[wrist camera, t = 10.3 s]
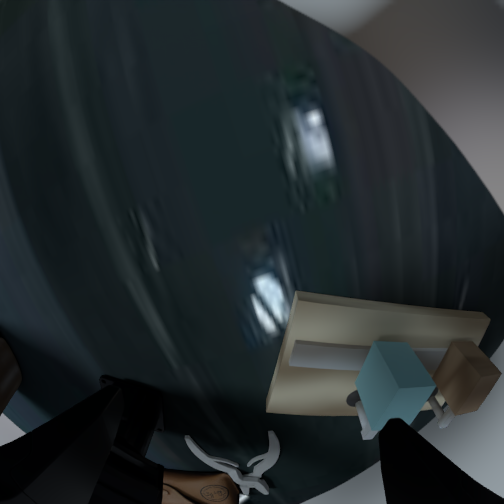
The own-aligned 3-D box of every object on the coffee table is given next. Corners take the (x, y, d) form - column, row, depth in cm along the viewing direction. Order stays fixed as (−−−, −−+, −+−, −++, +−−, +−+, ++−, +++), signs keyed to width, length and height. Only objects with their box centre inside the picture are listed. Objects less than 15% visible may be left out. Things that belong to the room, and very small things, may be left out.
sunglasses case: (227, 472, 26) (229, 517, 22) (238, 470, 32) (241, 509, 27) (105, 457, 28) (105, 496, 23) (130, 461, 33) (130, 495, 29)
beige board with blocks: (435, 398, 23) (460, 442, 16) (266, 399, 23) (266, 464, 16) (482, 312, 20) (524, 350, 13) (295, 290, 19) (310, 352, 13)
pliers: (275, 439, 23) (292, 491, 27) (275, 427, 24) (292, 483, 29) (180, 443, 24) (221, 495, 28) (183, 433, 25) (222, 487, 30)
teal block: (372, 407, 20) (388, 450, 15) (341, 407, 20) (353, 454, 15) (407, 342, 18) (436, 385, 13) (373, 340, 18) (399, 388, 13)
